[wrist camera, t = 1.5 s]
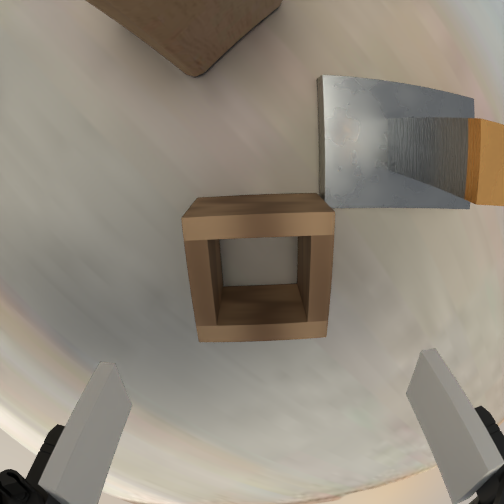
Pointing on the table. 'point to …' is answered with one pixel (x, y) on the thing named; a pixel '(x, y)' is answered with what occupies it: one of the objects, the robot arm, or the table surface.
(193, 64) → the block
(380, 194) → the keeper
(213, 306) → the wooden cube shelf
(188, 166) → the table surface
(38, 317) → the table surface
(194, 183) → the table surface
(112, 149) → the table surface
